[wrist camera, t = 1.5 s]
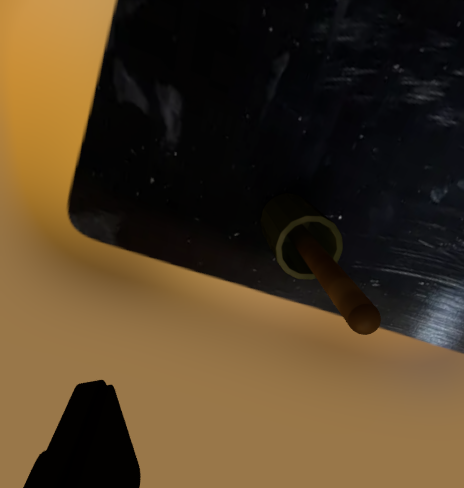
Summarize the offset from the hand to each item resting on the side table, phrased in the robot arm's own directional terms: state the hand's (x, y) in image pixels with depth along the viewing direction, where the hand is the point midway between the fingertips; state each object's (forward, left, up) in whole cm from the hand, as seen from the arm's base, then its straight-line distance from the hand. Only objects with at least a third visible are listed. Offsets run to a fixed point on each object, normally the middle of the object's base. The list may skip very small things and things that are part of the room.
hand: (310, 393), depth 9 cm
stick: (+5, -1, -22) cm, 23 cm away
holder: (+5, -1, -22) cm, 23 cm away
